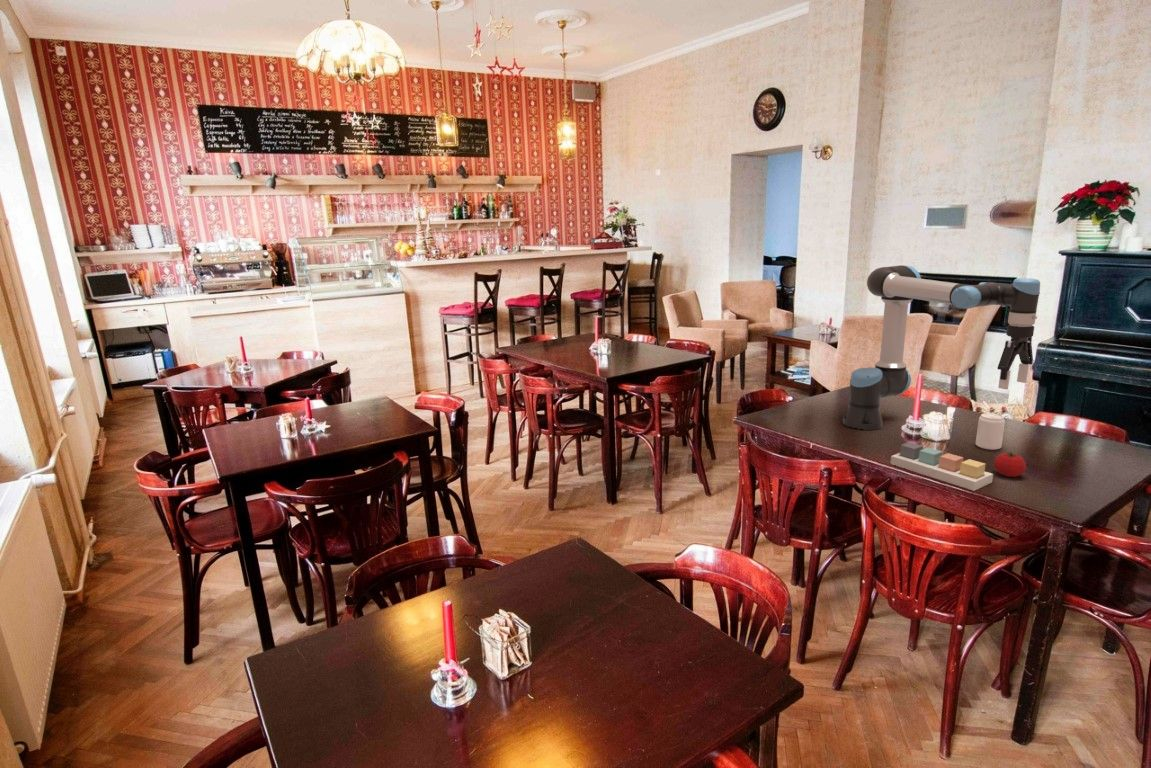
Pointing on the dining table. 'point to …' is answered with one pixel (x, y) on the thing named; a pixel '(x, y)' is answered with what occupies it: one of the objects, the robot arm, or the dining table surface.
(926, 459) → the key
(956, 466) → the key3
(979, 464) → the key
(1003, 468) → the tomato
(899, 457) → the keypad
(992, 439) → the beverage can
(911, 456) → the key
